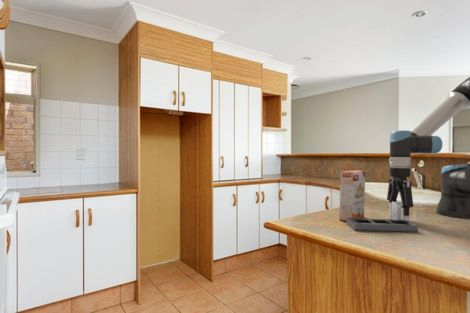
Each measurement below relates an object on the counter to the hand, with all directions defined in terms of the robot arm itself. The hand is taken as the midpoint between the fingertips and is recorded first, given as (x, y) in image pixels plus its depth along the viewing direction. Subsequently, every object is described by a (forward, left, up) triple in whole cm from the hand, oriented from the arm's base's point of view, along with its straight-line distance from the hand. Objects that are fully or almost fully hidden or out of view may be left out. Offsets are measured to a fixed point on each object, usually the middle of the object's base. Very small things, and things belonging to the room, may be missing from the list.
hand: (398, 220), depth 114 cm
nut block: (0, 0, 0) cm, 0 cm away
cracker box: (+18, -2, 0) cm, 18 cm away
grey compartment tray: (+13, +13, 0) cm, 18 cm away
